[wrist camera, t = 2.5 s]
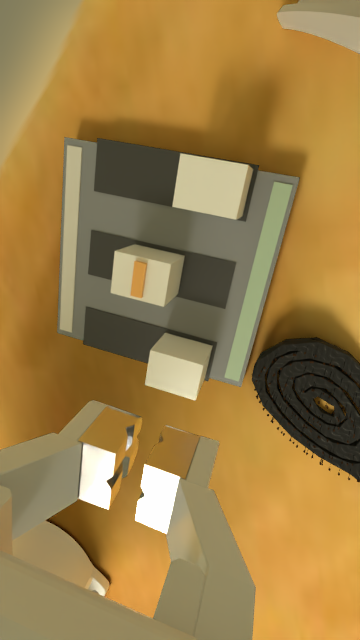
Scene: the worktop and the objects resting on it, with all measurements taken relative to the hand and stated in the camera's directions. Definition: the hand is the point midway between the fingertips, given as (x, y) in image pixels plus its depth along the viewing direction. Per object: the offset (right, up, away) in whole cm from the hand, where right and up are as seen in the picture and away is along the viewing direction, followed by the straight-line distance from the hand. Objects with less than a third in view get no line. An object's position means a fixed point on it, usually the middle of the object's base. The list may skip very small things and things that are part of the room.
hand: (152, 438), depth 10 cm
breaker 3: (+3, +12, +14) cm, 19 cm away
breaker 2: (+1, 0, +19) cm, 19 cm away
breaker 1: (-1, +7, +17) cm, 18 cm away
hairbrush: (+16, -7, +20) cm, 27 cm away
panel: (-1, +8, +18) cm, 20 cm away
